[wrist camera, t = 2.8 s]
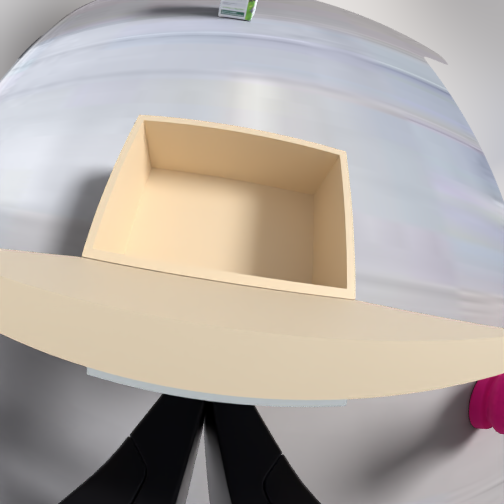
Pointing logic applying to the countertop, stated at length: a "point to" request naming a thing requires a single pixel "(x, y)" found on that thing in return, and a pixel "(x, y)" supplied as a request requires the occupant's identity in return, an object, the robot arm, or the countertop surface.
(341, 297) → the carton
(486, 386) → the pepper mill
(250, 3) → the syrup box
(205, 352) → the lid
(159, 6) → the countertop surface
